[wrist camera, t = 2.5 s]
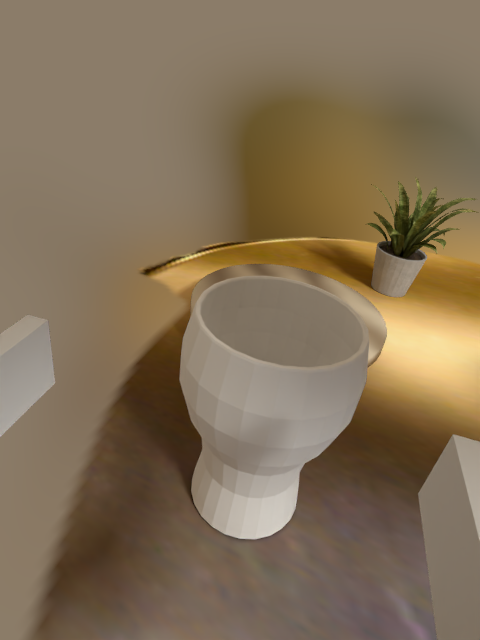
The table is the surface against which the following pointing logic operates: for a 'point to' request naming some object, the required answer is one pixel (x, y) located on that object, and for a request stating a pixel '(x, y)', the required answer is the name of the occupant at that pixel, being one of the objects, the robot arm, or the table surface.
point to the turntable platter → (332, 286)
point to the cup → (266, 394)
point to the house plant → (407, 242)
